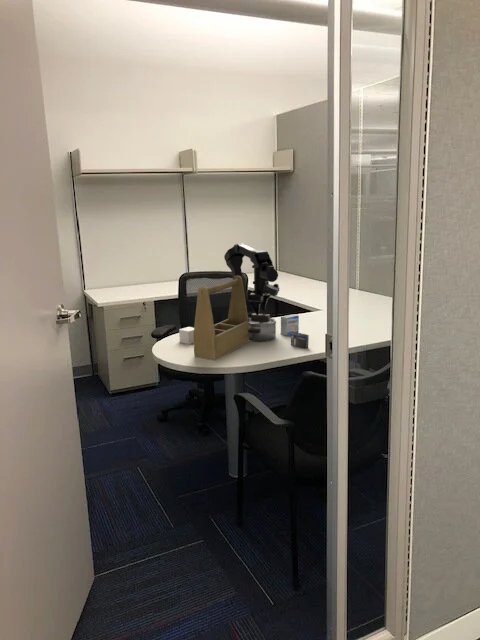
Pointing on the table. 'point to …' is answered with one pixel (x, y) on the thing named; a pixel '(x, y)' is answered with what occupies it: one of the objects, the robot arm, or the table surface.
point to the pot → (262, 331)
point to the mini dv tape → (299, 340)
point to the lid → (260, 318)
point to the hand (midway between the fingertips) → (260, 312)
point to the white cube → (187, 335)
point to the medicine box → (289, 324)
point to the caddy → (225, 333)
